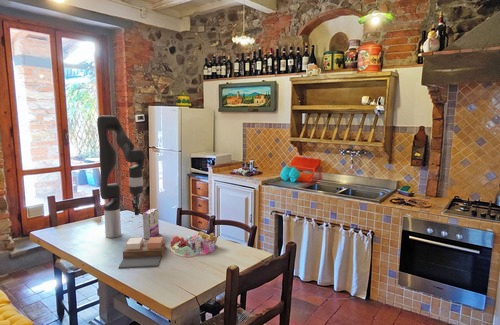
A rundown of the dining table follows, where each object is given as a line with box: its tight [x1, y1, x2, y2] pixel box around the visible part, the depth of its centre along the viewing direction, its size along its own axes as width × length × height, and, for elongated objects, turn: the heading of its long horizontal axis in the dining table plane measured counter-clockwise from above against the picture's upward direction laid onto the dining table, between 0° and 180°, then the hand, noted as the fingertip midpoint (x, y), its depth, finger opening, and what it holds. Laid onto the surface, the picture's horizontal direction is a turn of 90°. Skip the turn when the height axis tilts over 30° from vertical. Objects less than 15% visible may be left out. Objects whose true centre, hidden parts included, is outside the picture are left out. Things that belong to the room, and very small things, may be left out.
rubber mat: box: [118, 256, 162, 270], centre depth 173 cm, size 11×19×1 cm, turn 97°
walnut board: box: [122, 239, 166, 260], centre depth 185 cm, size 15×20×4 cm
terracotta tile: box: [147, 236, 164, 249], centre depth 186 cm, size 9×7×3 cm
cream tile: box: [125, 237, 144, 249], centre depth 185 cm, size 9×7×3 cm
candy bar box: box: [142, 208, 160, 240], centre depth 210 cm, size 11×5×16 cm, turn 168°
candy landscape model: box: [170, 231, 219, 258], centre depth 191 cm, size 25×24×9 cm
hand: (137, 214), depth 193 cm, fingers closed
